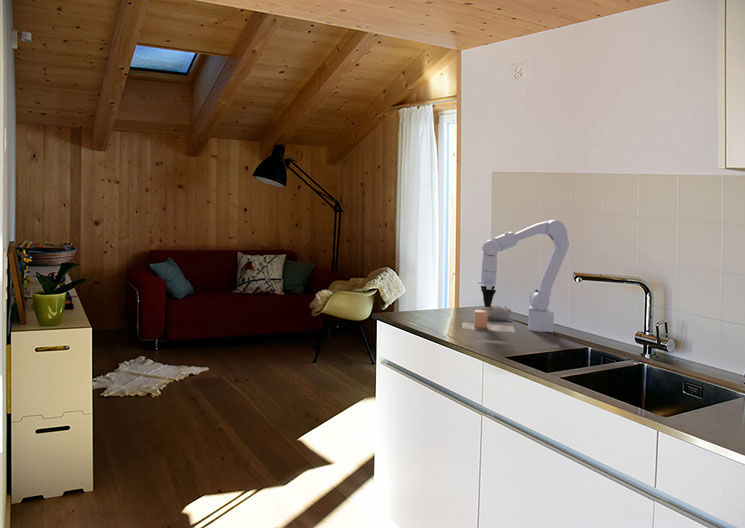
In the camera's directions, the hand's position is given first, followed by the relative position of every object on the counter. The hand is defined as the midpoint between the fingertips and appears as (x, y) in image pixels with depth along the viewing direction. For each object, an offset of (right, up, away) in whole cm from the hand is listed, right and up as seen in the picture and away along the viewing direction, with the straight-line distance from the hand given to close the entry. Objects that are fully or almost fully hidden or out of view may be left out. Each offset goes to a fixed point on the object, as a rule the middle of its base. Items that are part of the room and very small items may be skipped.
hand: (487, 305), depth 252 cm
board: (0, -10, -1) cm, 10 cm away
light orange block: (-3, -8, 0) cm, 9 cm away
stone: (+6, -8, +19) cm, 21 cm away
